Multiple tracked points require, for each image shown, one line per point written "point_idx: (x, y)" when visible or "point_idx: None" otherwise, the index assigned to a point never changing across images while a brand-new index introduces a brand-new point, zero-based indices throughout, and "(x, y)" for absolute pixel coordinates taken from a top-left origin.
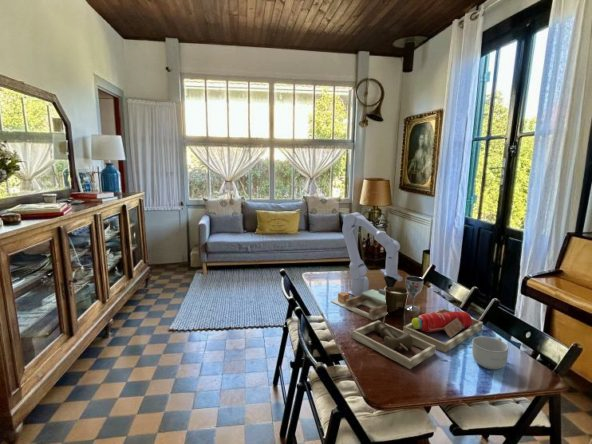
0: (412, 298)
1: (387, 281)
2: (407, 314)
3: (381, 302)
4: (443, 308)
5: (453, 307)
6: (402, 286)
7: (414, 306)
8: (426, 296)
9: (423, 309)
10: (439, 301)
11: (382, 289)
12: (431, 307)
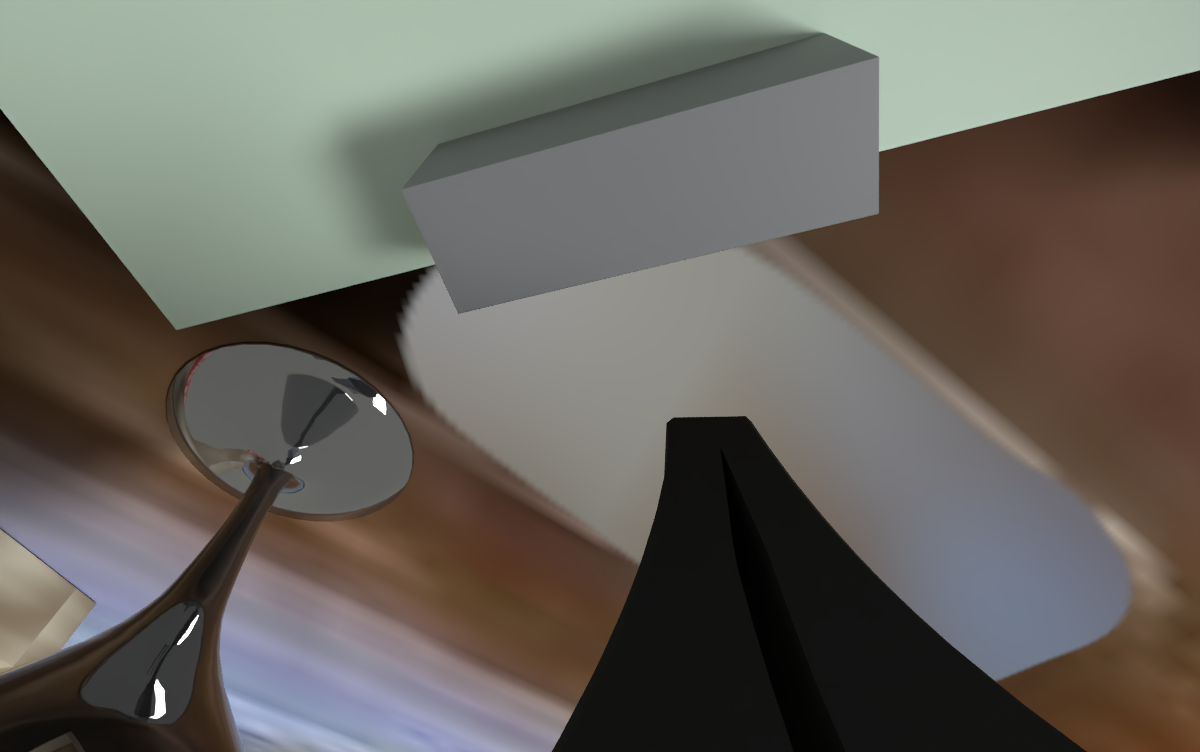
0: (183, 578)
1: (819, 703)
2: (13, 216)
3: None
4: None
5: (280, 738)
6: None
7: (290, 488)
8: None
9: None
10: (444, 734)
11: (770, 228)
12: (301, 621)
